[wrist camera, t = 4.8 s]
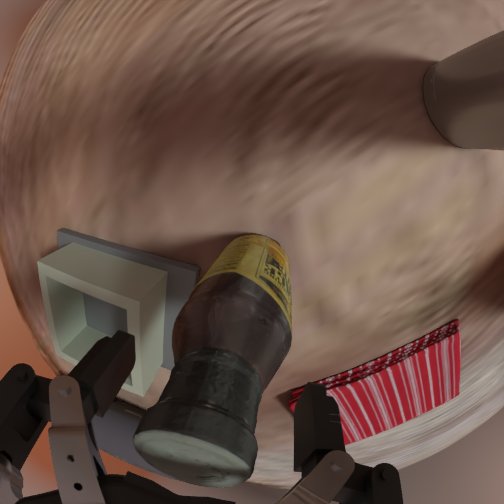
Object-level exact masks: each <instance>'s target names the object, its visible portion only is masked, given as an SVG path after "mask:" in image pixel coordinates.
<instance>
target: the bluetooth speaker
mask: <svg viewBox="0 0 504 504" xmlns="http://www.w3.org/2000/svg"><path fill="white" fill-rule="evenodd" d="M145 412H146V411H143V410H141V409H138V408H136V407H134V406H131V405H129V404H127V403H124V402H121V401H118V400H116V401H115V402H112V403H111V405H110V407H109V408H108V410H107V412H106V413H105V415H104V417H103V418H101V417H99V416H97V415H94V417H93V419H92V424H93V429H94V433H95V437H96V441H97V445H98V448H99V449H101V450H103V451H104V452H106V453H108V454H110V455H112V456H114V457H116V458H118V459H120V460H123V461H125V462H127V463H130V464H132V465H134V466H137V467H139V468H142V469H144V470H147V471H150V472H153V473H156V474H159V475H162V476H165V477H168V478H171V479H175V480H178V479H176V478H174V477H172V476H169V475H167V474H164V473H162V472H161V471H159V470H157V469H155V468H154V467H152V466H151V465H150V464H148V463H147V462H146V461H145V460H144V459H143V458H142V457H141V456H140V455H139V453H138V452H137V451H136V450H135V448H134V445H133V436H134V433H135V431H136V429H137V427H138V425H139V422H140V420H141V419H142V416H143V414H144V413H145ZM179 481H180V480H179ZM183 482H184V481H183Z"/></svg>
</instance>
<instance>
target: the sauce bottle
mask: <svg viewBox="0 0 504 504" xmlns="http://www.w3.org/2000/svg"><path fill="white" fill-rule="evenodd" d="M291 311H292V310H291V284H290V265H289V260H288V258H287V255H286V253H285V252H284V250H283V249H282V248H281V246H280V244H279V243H278V242H277V241H276V240H273V239H271V238H269V237H267V236H265V235H261V234H256V233H250V234H247V235H244V236H241V237H238V238H236V239H234V240H233V241H232V242H230V243H229V244H228V245H227V246H226V247H225V249H224V250H223V251H222V253H221V254H220V255H219V256H218V258H217V259H216V261H215V262H214V263H213V265H212V266H211V267H210V268H209V270H208V271H207V272H206V274H205V275H204V276H203V278H202V279H201V280H200V282H199V283H198V284H197V286H196V287H195V288H194V290H193V291H192V293H191V294H190V296H189V299H188V301H187V302H186V303H185V304H184V306H183V307H182V309H181V310H180V312H179V314H178V316H177V317H176V320H175V322H174V326H173V330H172V350H173V356H174V364H175V366H174V367H173V369H172V371H171V375H170V379H169V381H168V383H167V385H166V386H165V388H164V390H163V392H162V394H161V396H160V398H159V400H158V402H157V404H155V405H154V406H152V407H150V408H148V409H147V411H146V412H145V413H144V414H143V416H142V419H141V420H140V422H139V425H138V427H137V429H136V431H135V433H134V436H133V445H134V448H135V450H136V451H137V452H138V453H139V455H140V456H141V457H142V458H143V459H144V460H145V461H146V462H147V463H148V464H150V465H151V466H152V467H154V468H155V469H157V470H159V471H161V472H162V473H164V474H167V475H169V476H172V477H174V478H176V479H178V480H180V481H184V482H186V483H190V484H194V485H199V486H205V487H215V488H217V487H231V486H236V485H238V484H241V483H243V482H245V481H246V480H247V479H249V478H250V477H251V475H252V473H253V471H254V465H255V460H256V457H257V451H258V446H257V441H256V438H255V436H254V433H255V428H256V423H257V412H258V406H259V404H260V401H261V398H262V393H263V392H264V390H265V389H266V387H267V386H268V384H269V383H270V381H271V380H272V378H273V376H274V375H275V373H276V372H277V370H278V368H279V367H280V365H281V364H282V362H283V360H284V359H285V357H286V355H287V354H288V352H289V349H290V347H291V341H292V319H291Z"/></svg>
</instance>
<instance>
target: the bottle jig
mask: <svg viewBox="0 0 504 504" xmlns="http://www.w3.org/2000/svg"><path fill="white" fill-rule="evenodd" d="M57 240H58V250H57V251H55V252H53V253H51V254H49V255H47V256H45V257H43V258H42V259H40V260H38V261H37V264H38V272H39V279H40V286H41V292H42V298H43V303H44V308H45V313H46V318H47V322H48V326H49V330H50V334H51V338H52V342H53V346H54V349H55V352H56V355H58V356H60V357H61V358H63V359H65V360H67V361H68V362H70V363H72V364H74V365H75V366H76V365H77V364H78V363H79V361H80V360H81V359H82V358H83V357H84V356H85V354H87V352H88V351H89V350H90V349H91V348H92V346H93V345H94V344H95V343H96V342H97V341H98V340H100V339H102V338H104V337H106V336H108V337H111V338H112V336H113V335H114V334H115V333H116V332H117V331H118V330H122V331H124V332H127V333H129V334H132V335H134V336H135V352H136V361H135V365H134V368H133V370H132V372H131V373H130V375H129V376H128V378H127V379H126V381H125V383H124V384H123V386H122V387H121V388H122V389H125V390H127V391H129V392H132V393H134V394H137V395H139V396H142V397H144V396H145V394H146V392H147V390H148V388H149V386H150V385H151V383H152V381H153V379H154V377H155V376H156V374H157V372H158V370H159V368H160V367H164V368H167V369H170V370H172V369H173V367H174V366H175V364H174V356H173V350H172V330H173V326H174V322H175V320H176V317H177V316H178V314H179V312H180V310H181V309H182V307H183V306H184V304H185V303H186V302H187V301H188V299H189V296H190V294H191V293H192V291H193V290H194V288H195V287H196V286H197V284H198V277H199V270H200V267H198V266H194V265H191V264H187V263H183V262H179V261H176V260H172V259H168V258H165V257H161V256H158V255H154V254H150V253H147V252H143V251H140V250H136V249H133V248H129V247H126V246H122V245H119V244H115V243H112V242H109V241H105V240H102V239H98V238H95V237H92V236H88V235H85V234H82V233H79V232H75V231H72V230H69V229H66V228H62V229H60V230H57Z"/></svg>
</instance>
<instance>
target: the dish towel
mask: <svg viewBox="0 0 504 504" xmlns="http://www.w3.org/2000/svg"><path fill="white" fill-rule="evenodd" d="M458 321H459V320H458V319H456V320H455V321H454V322H451V323H449V324H447V325H445V326H443V327H441V328H439V329H437V330H435V331H434V332H432V333H429V334H427V335H425V336H424V337H422V338H420V339H418V340H416V341H414V342H411V343H408V344H406V345H405V346H403V347H401V348H399V349H397V350H395V351H393V352H390V353H388V354H386V355H384V356H382V357H380V358H378V359H376V360H373V361H370V362H368V363H365V364H364V365H361V366H358V367H356V368H353V369H350V370H348V371H346V372H344V373H340V374H338V375H335V376H332V377H329V378H326V379H324V380H321V381H318V382H316V383H318V384H324V385H325V386H326V392H327V396H333V397H334V399H335V401H336V402H337V404H338V406H339V412H340V418H341V424H342V430H343V437H344V444H345V445H347V444H350V443H353V442H356V441H360V440H362V439H365V438H367V437H370V436H373V435H376V434H378V433H380V432H383V431H386V430H389V429H391V428H393V427H395V426H398V425H400V424H402V423H405V422H406V421H408V420H410V419H413V418H415V417H417V416H420V415H421V414H423V413H425V412H427V411H429V410H431V409H434V408H435V407H437V406H439V405H442V404H444V403H446V402H448V401H450V400H451V399H453V398H455V397H456V396H458V395H459V393H460V392H459V383H460V365H461V364H460V363H461V362H460V361H461V351H460V350H461V347H460V341H461V338H460V328H459V322H458ZM304 388H305V387H303V388H300V389H296V390H293V391H292V394H293V396H292V399H290V400H289V401H288V402H289V404H288V406H289V408H290V409H291V410H292V412H293V413H294V409H295V405H296V402H297V400H298V399H299V397H300V395H301V393H302V392H303V390H304Z"/></svg>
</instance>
